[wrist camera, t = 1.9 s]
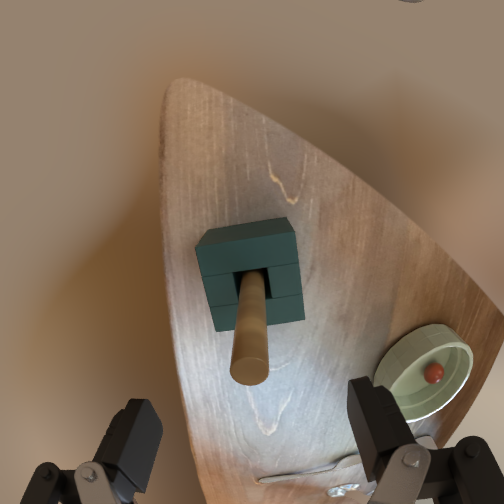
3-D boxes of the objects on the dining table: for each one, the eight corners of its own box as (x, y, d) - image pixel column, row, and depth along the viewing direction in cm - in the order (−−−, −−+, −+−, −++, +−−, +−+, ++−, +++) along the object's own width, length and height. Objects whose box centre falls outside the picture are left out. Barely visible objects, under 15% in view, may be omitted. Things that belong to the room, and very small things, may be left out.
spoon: (370, 455, 38) (372, 461, 36) (263, 484, 40) (263, 491, 39) (368, 445, 37) (370, 452, 35) (254, 476, 39) (254, 483, 38)
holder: (207, 229, 27) (194, 247, 21) (286, 216, 26) (294, 231, 21) (223, 300, 29) (215, 332, 23) (296, 289, 28) (305, 320, 23)
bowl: (375, 336, 30) (391, 361, 25) (462, 310, 29) (483, 329, 24) (368, 408, 34) (378, 433, 29) (444, 383, 33) (458, 403, 28)
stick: (242, 253, 27) (225, 359, 12) (261, 250, 27) (266, 354, 12) (245, 271, 28) (234, 387, 13) (264, 268, 28) (271, 383, 12)
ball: (422, 361, 31) (431, 375, 28) (439, 355, 30) (449, 368, 28) (418, 377, 32) (427, 391, 29) (435, 371, 31) (445, 384, 28)
